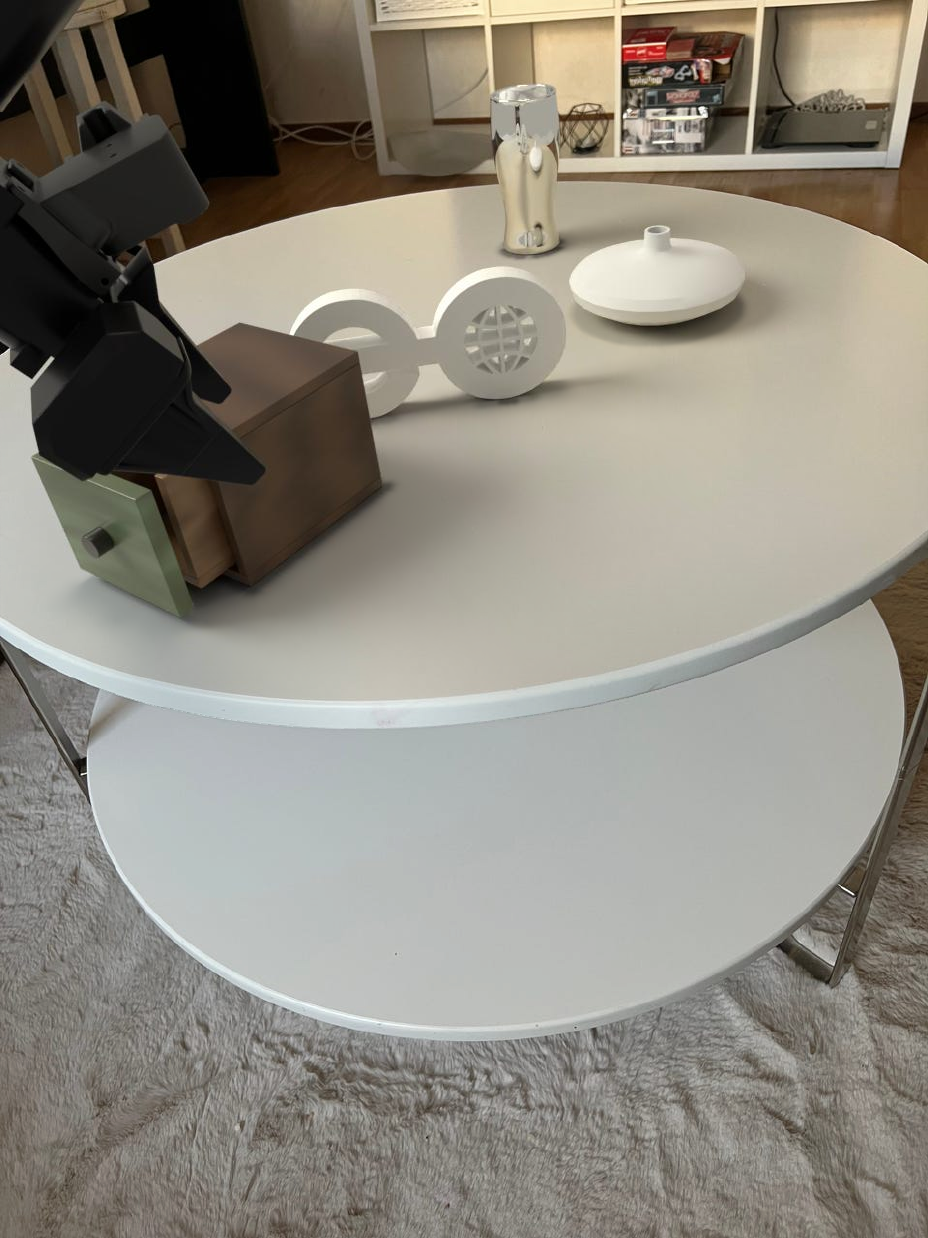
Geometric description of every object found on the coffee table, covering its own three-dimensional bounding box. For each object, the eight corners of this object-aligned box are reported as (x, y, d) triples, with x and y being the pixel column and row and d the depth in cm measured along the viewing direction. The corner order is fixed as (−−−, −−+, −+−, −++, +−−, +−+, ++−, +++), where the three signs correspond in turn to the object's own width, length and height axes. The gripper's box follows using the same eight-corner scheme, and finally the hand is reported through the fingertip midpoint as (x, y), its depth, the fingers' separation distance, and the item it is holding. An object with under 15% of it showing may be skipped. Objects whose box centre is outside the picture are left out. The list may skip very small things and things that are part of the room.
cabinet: (250, 586, 64) (206, 445, 57) (139, 537, 70) (87, 404, 63) (383, 485, 72) (358, 350, 65) (272, 448, 78) (239, 321, 71)
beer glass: (543, 228, 110) (536, 79, 100) (575, 245, 105) (571, 90, 95) (488, 243, 108) (475, 93, 98) (518, 261, 103) (508, 105, 93)
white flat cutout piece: (562, 376, 82) (558, 257, 76) (568, 388, 80) (563, 267, 74) (303, 416, 81) (275, 299, 75) (302, 428, 80) (274, 310, 73)
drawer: (165, 629, 60) (118, 510, 54) (65, 578, 65) (13, 465, 60) (316, 516, 68) (289, 402, 62) (216, 479, 73) (182, 371, 68)
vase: (620, 265, 99) (620, 192, 95) (770, 287, 91) (778, 209, 87) (538, 327, 90) (533, 250, 85) (697, 357, 82) (701, 274, 78)
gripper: (69, 79, 30) (412, 386, 39) (49, 13, 44) (307, 253, 53) (-140, 354, 32) (234, 579, 42) (-95, 208, 46) (178, 403, 56)
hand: (242, 433), depth 48 cm, fingers open, 9 cm apart
